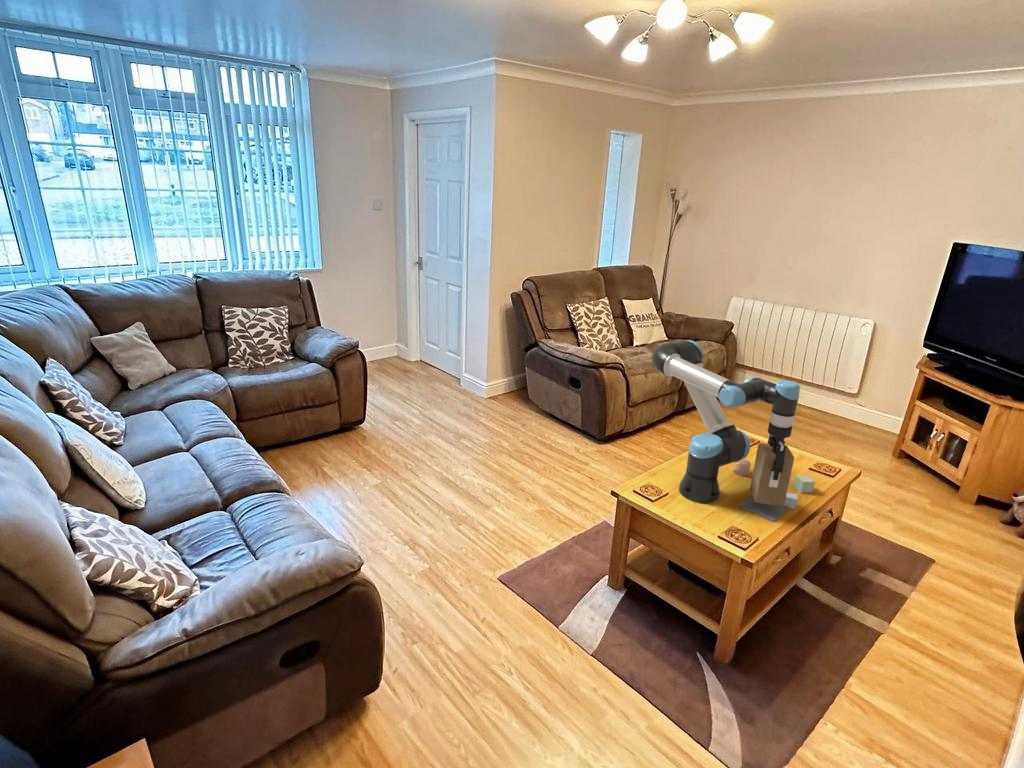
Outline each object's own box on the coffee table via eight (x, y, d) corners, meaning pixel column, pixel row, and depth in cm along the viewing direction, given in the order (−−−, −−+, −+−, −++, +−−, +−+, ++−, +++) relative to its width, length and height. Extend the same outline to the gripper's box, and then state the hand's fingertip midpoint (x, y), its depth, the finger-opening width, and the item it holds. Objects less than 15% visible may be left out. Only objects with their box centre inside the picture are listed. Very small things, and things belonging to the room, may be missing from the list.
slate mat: (773, 522, 195) (773, 520, 195) (738, 506, 204) (739, 505, 204) (788, 509, 203) (789, 507, 203) (755, 495, 212) (755, 493, 212)
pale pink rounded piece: (734, 475, 227) (736, 464, 225) (732, 468, 232) (734, 458, 231) (750, 477, 226) (752, 466, 224) (747, 470, 231) (749, 460, 230)
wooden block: (784, 506, 196) (794, 457, 190) (755, 503, 198) (764, 454, 191) (777, 492, 206) (787, 444, 199) (749, 489, 207) (758, 442, 201)
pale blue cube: (783, 506, 205) (785, 496, 204) (784, 501, 208) (786, 492, 207) (795, 509, 203) (797, 499, 202) (795, 504, 207) (797, 494, 205)
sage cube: (800, 493, 214) (803, 481, 213) (793, 486, 219) (795, 475, 217) (812, 492, 215) (815, 481, 213) (804, 486, 220) (807, 475, 218)
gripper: (800, 438, 181) (788, 496, 188) (785, 413, 201) (774, 466, 209) (776, 435, 182) (764, 493, 190) (763, 411, 203) (753, 464, 210)
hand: (769, 479), depth 199 cm, fingers closed on wooden block, 10 cm apart
